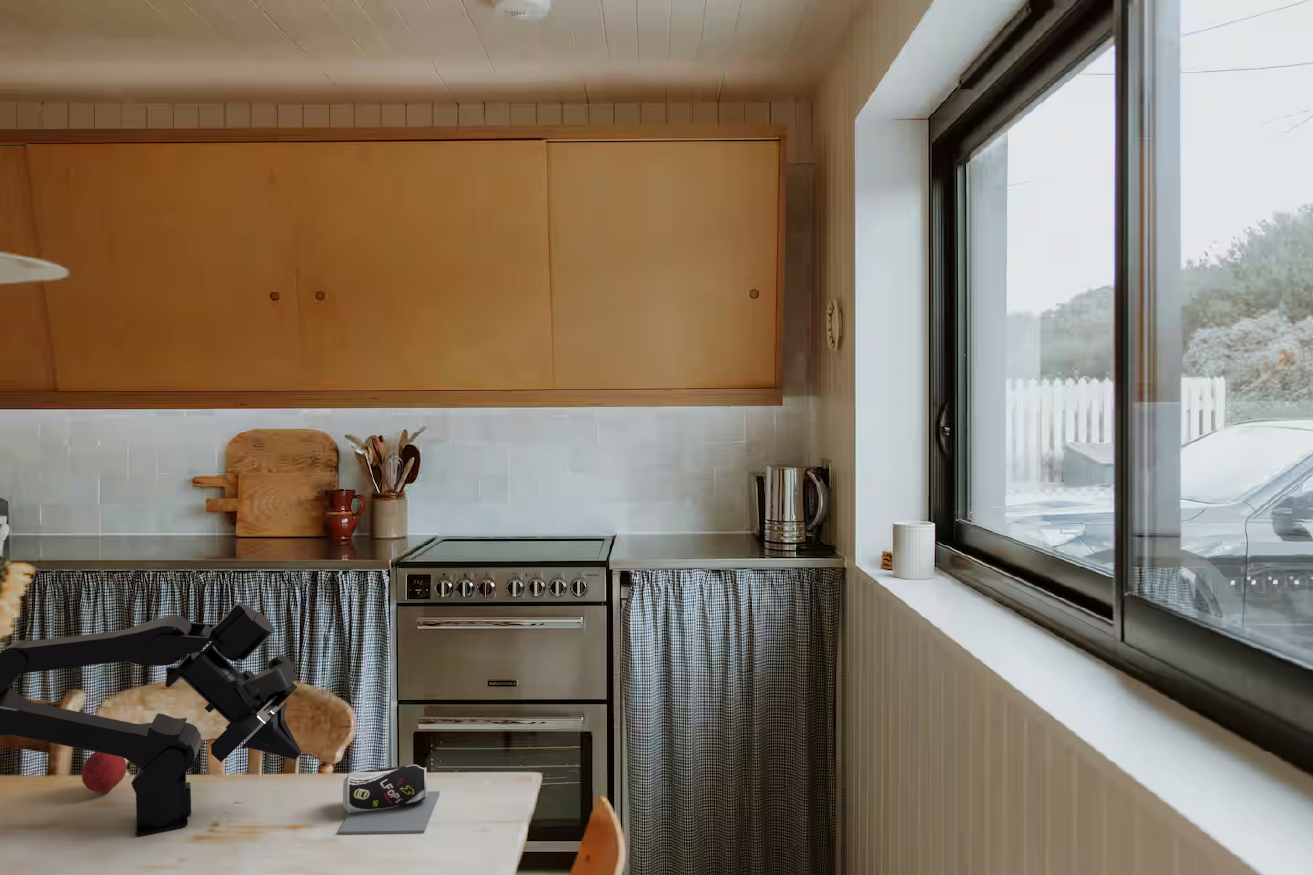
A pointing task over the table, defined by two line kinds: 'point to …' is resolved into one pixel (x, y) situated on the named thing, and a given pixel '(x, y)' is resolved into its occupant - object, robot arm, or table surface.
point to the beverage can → (384, 788)
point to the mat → (392, 819)
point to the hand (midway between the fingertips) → (298, 756)
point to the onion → (103, 772)
